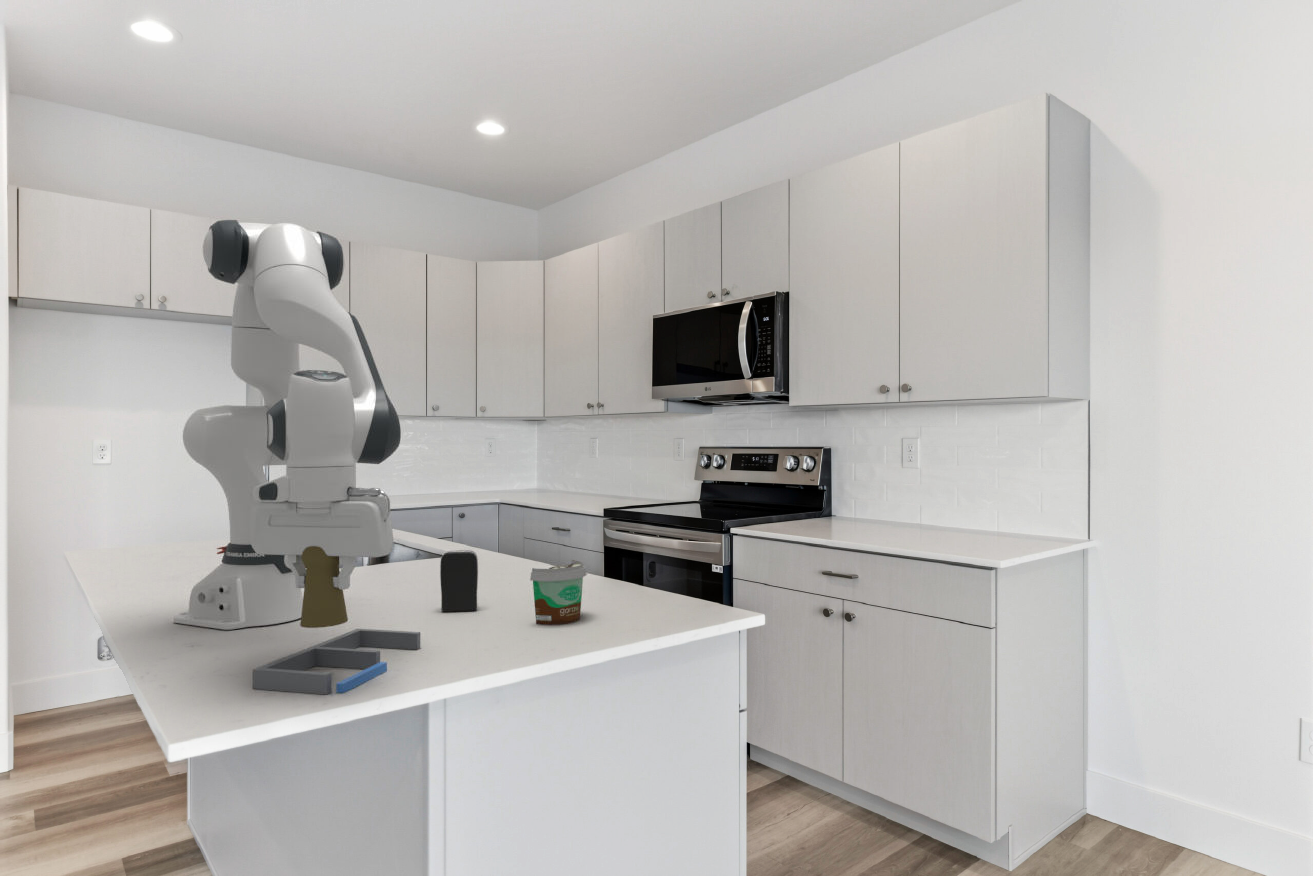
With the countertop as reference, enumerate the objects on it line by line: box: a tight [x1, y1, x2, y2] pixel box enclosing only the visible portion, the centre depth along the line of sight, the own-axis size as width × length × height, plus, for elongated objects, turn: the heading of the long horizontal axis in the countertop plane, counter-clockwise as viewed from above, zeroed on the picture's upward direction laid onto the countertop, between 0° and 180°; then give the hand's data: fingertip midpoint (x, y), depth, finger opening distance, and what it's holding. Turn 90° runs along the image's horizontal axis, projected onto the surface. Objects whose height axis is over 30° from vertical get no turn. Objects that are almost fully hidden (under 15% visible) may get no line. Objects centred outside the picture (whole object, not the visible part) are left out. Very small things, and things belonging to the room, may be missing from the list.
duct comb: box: [251, 628, 421, 695], centre depth 114 cm, size 13×23×2 cm, turn 166°
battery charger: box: [439, 549, 479, 613], centre depth 152 cm, size 7×4×11 cm, turn 98°
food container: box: [529, 559, 588, 626], centre depth 142 cm, size 12×6×10 cm, turn 148°
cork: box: [300, 546, 349, 629], centre depth 109 cm, size 6×6×11 cm
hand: (322, 588), depth 109 cm, fingers closed on cork, 4 cm apart
